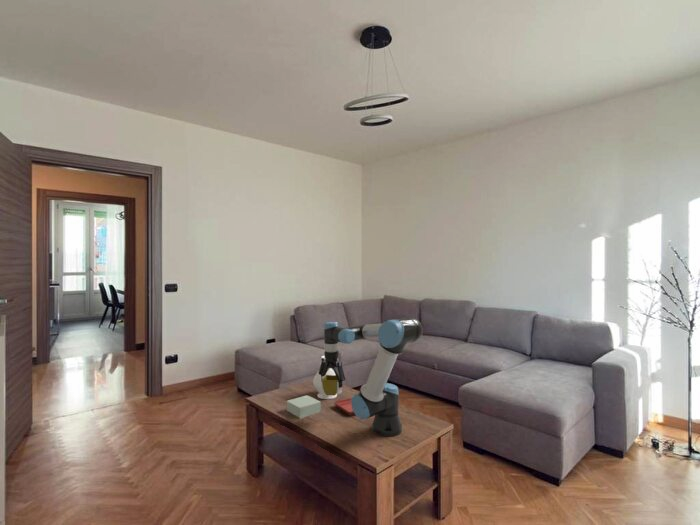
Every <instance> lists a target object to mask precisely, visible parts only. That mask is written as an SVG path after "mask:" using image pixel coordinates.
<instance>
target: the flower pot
mask: <svg viewBox="0 0 700 525" xmlns="http://www.w3.org/2000/svg"><path fill="white" fill-rule="evenodd" d="M337 381H338V379H337V377H336V375H326V376H325V377H324V378H323V379H322V385H323V390H324V392H325V394H326V395H336V394H337Z"/></svg>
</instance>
